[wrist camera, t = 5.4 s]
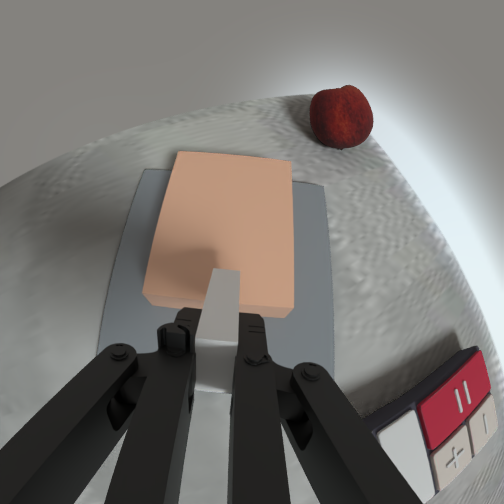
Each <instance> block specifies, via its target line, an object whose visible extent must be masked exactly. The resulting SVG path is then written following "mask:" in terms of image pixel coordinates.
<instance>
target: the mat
mask: <svg viewBox="0 0 504 504" xmlns="http://www.w3.org/2000/svg"><path fill="white" fill-rule="evenodd" d="M171 173H172V170H152V169H145V170H144V172H143V175H142V178H141V180H140V183H139V186H138V189H137V191H136V194H135V197H134V200H133V203H132V206H131V209H130V212H129V215H128V218H127V222H126V225H125V228H124V232H123V235H122V238H121V242H120V246H119V249H118V253H117V257H116V260H115V264H114V268H113V272H112V277H111V281H110V285H109V290H108V294H107V299H106V304H105V309H104V314H103V320H102V325H101V331H100V338H99V344H98V351H97V355H98V354H99V353H100V352H101V351H103V350H104V349H105V348H106V347H108V346H109V345H111V344H115V343H125V344H129V345H131V346H132V347H134V349H135V350H136V352H137V353H151V352H155V351H157V350H158V340H157V329H158V328H159V327H160V326H162V325H164V324H167V323H174V320H175V318H176V315H177V313H178V311H180V310H181V309H177V308H169V307H161V306H154V305H152V304H151V303H150V302H149V301H148V300H147V299H146V297H145V296H144V295H143V294H142V291H143V285H144V280H145V275H146V271H147V266H148V261H149V257H150V252H151V248H152V243H153V239H154V235H155V231H156V227H157V223H158V219H159V215H160V212H161V208H162V204H163V201H164V197H165V194H166V190H167V187H168V183H169V180H170V177H171ZM292 195H293V229H294V309H293V310H292V311H291V312H290V313H289V314H288V315H287V316H286V317H285V318H274V317H262V318H263V319H264V322H265V331H266V339H267V347H268V354H269V355H270V356H271V358H272V360H273V361H274V362H275V363H277V364H278V365H281V366H284V367H287V368H291V369H294V367H295V366H296V365H297V364H299V363H303V362H312V363H316V364H319V365H321V366H323V367H324V368H325V369H326V370H327V371H328V373H329V374H330V376H331V377H332V378H333V380H334V308H333V285H332V268H331V254H330V242H329V230H328V220H327V210H326V202H325V193H324V186H320V185H314V184H307V183H300V182H293V181H292Z"/></svg>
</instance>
